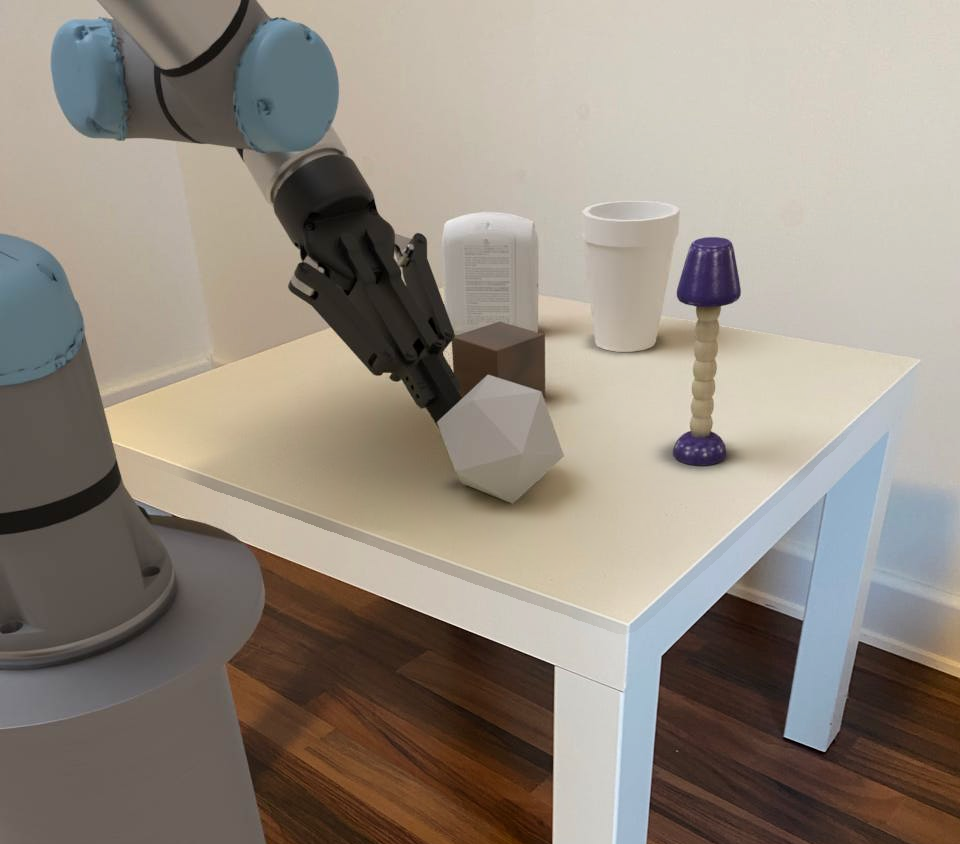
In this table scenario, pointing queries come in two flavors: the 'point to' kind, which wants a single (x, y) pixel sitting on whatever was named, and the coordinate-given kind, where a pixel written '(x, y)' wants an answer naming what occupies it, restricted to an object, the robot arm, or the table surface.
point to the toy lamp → (706, 340)
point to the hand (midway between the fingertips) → (463, 434)
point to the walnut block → (499, 356)
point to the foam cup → (628, 269)
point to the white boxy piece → (490, 271)
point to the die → (501, 438)
